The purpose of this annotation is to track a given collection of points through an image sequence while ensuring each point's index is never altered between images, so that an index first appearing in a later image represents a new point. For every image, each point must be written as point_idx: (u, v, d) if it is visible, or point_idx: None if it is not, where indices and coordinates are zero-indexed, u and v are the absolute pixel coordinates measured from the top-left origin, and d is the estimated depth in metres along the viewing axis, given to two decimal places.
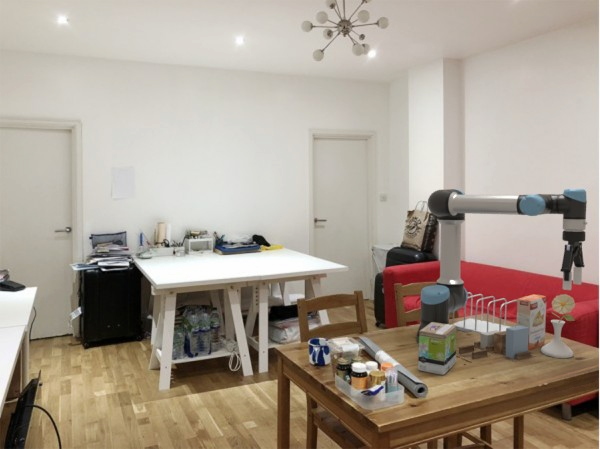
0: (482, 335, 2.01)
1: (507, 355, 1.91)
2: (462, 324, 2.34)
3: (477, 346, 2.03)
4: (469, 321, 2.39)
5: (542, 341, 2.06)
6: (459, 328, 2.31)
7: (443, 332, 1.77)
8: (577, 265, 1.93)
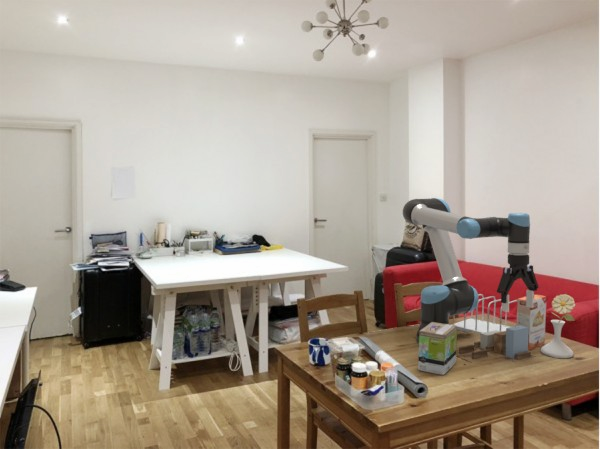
0: (482, 335, 2.01)
1: (507, 355, 1.91)
2: (462, 324, 2.34)
3: (477, 346, 2.03)
4: (470, 321, 2.39)
5: (542, 341, 2.06)
6: (459, 328, 2.30)
7: (443, 332, 1.77)
8: (530, 288, 1.94)
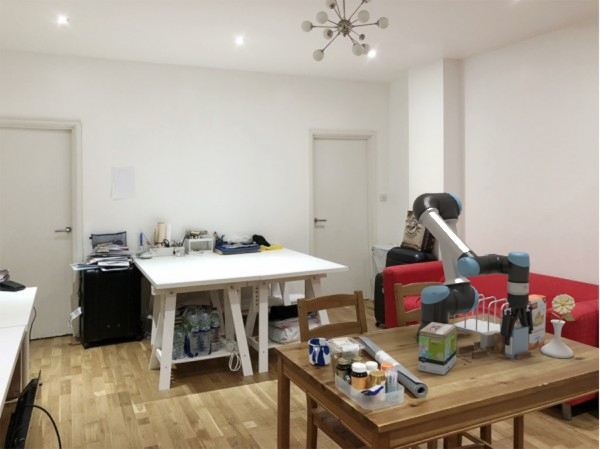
0: (482, 335, 2.01)
1: (507, 355, 1.91)
2: (463, 324, 2.34)
3: (477, 346, 2.03)
4: (470, 321, 2.38)
5: (542, 341, 2.06)
6: (460, 328, 2.30)
7: (443, 332, 1.77)
8: None
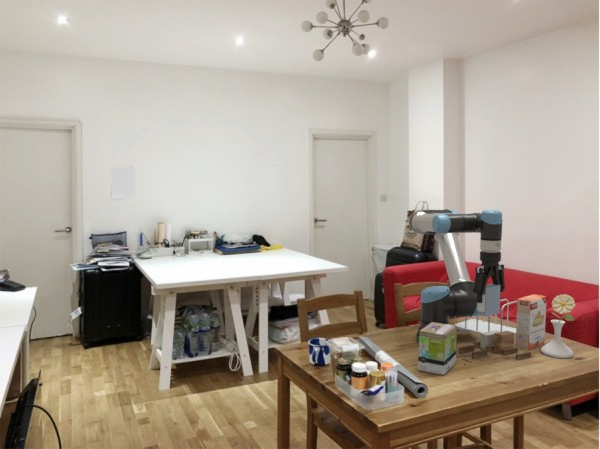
0: (482, 335, 2.01)
1: (479, 313, 1.92)
2: (464, 325, 2.33)
3: (477, 346, 2.03)
4: (471, 322, 2.38)
5: (542, 341, 2.06)
6: (460, 329, 2.30)
7: (443, 332, 1.77)
8: None
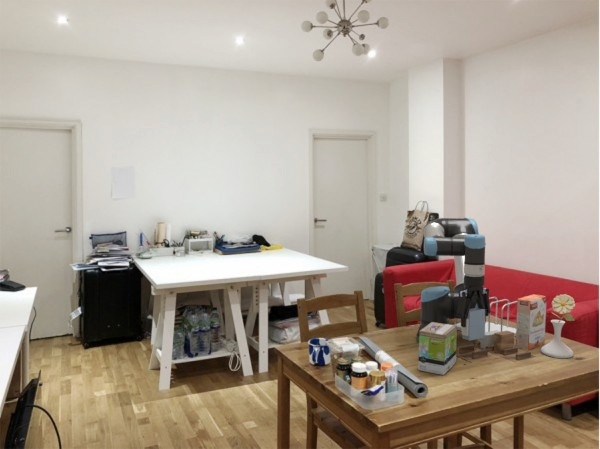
0: None
1: (464, 337, 1.92)
2: None
3: (477, 346, 2.03)
4: None
5: (542, 341, 2.06)
6: (461, 329, 2.29)
7: (443, 332, 1.77)
8: None
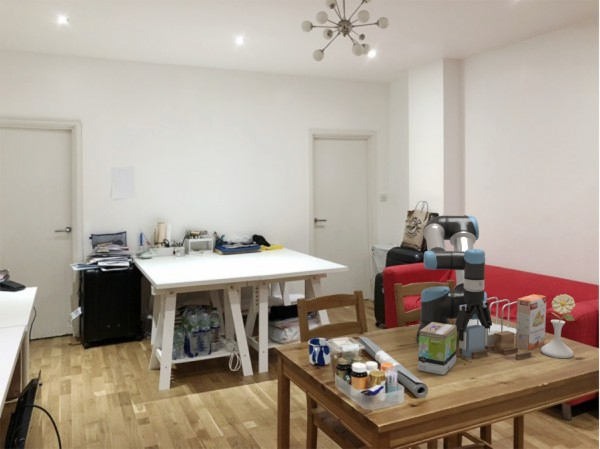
0: None
1: (463, 354, 1.93)
2: None
3: None
4: (472, 322, 2.37)
5: (542, 341, 2.06)
6: None
7: (443, 332, 1.77)
8: (483, 325, 1.96)
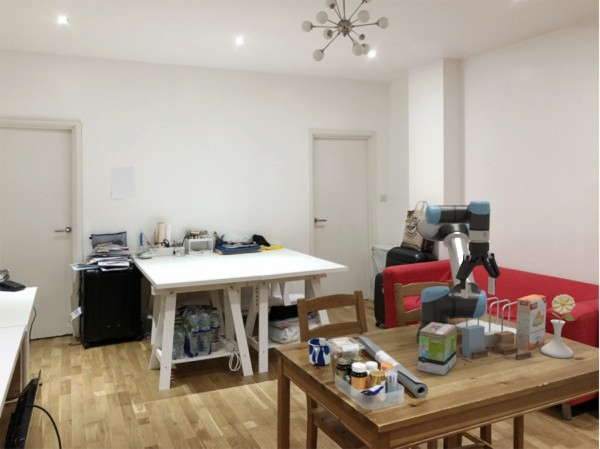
0: None
1: (463, 354, 1.93)
2: (465, 325, 2.32)
3: None
4: (472, 322, 2.37)
5: (542, 341, 2.06)
6: (461, 329, 2.29)
7: (443, 332, 1.77)
8: (491, 275, 1.97)
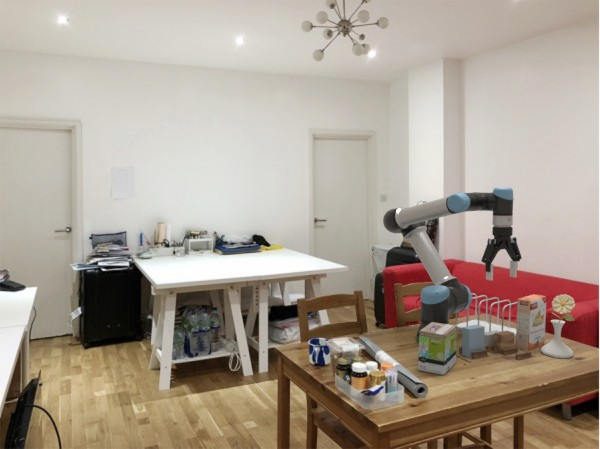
0: None
1: (463, 354, 1.93)
2: (465, 325, 2.32)
3: None
4: (473, 322, 2.37)
5: (542, 341, 2.06)
6: None
7: (443, 332, 1.77)
8: (513, 259, 2.06)
